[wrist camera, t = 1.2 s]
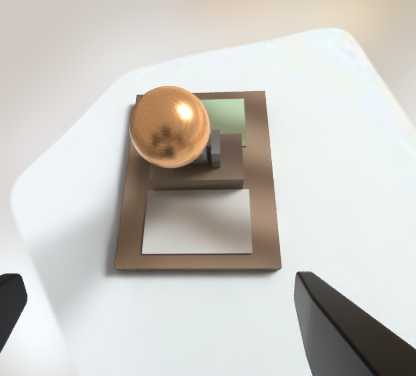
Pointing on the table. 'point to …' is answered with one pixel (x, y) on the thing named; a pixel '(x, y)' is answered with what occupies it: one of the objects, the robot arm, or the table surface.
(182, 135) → the toggle lever
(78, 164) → the table surface
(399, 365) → the robot arm
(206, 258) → the switch base
